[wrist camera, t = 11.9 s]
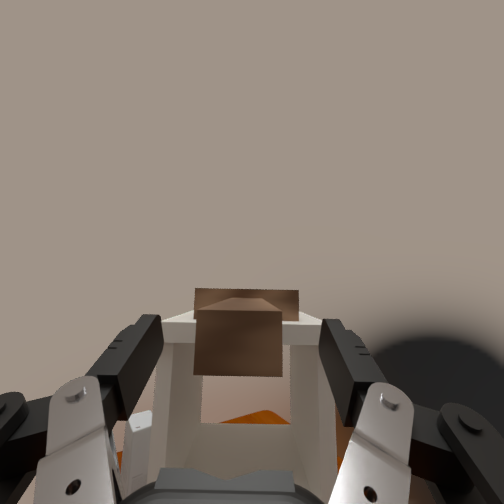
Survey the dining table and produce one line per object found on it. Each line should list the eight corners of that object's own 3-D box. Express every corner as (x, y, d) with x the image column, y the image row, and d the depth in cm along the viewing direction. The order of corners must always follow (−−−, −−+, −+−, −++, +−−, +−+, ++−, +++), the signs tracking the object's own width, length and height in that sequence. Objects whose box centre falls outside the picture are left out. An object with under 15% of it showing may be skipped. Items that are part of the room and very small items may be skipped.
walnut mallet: (285, 313, 36) (285, 290, 37) (390, 378, 9) (384, 288, 10) (208, 311, 36) (210, 289, 37) (84, 373, 9) (95, 283, 10)
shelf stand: (301, 513, 36) (298, 310, 42) (348, 725, 19) (333, 325, 24) (186, 511, 36) (197, 308, 42) (124, 721, 19) (158, 321, 24)
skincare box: (153, 506, 37) (160, 423, 39) (123, 521, 35) (132, 432, 37) (144, 481, 42) (150, 408, 44) (117, 493, 39) (125, 415, 41)
